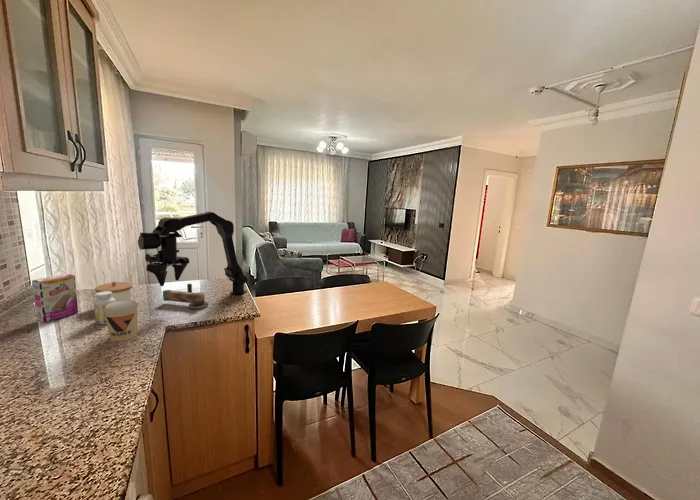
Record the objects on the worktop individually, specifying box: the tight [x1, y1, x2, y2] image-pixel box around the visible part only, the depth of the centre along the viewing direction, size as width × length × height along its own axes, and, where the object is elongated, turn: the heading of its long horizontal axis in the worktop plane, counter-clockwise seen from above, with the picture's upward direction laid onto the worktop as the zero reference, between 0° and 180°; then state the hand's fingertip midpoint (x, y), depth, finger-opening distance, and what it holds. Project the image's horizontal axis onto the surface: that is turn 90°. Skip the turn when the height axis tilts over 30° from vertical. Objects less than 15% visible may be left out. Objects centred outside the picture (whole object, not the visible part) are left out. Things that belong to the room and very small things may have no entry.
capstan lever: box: [162, 289, 206, 306], centre depth 133 cm, size 20×5×4 cm, turn 84°
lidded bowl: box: [94, 281, 133, 302], centre depth 127 cm, size 13×13×11 cm
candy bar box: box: [31, 273, 79, 324], centre depth 113 cm, size 11×5×16 cm, turn 164°
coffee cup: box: [104, 299, 138, 342], centre depth 102 cm, size 9×9×12 cm
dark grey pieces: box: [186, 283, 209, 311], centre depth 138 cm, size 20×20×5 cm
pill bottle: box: [93, 291, 116, 325], centre depth 112 cm, size 6×6×12 cm
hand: (169, 283), depth 125 cm, fingers open, 9 cm apart
